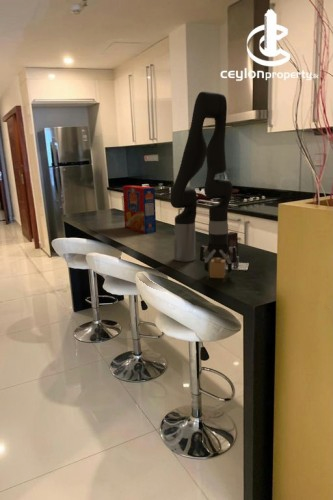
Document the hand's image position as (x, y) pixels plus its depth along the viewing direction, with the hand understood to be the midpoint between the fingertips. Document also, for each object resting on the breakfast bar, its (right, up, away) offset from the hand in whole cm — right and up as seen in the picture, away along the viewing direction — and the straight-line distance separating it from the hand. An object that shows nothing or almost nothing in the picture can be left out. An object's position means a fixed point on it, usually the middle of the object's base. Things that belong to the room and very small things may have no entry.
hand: (218, 271), depth 154 cm
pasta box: (-38, +22, +99) cm, 108 cm away
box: (+9, +5, +25) cm, 27 cm away
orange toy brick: (0, -2, +1) cm, 2 cm away
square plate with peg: (+9, +2, +12) cm, 15 cm away
